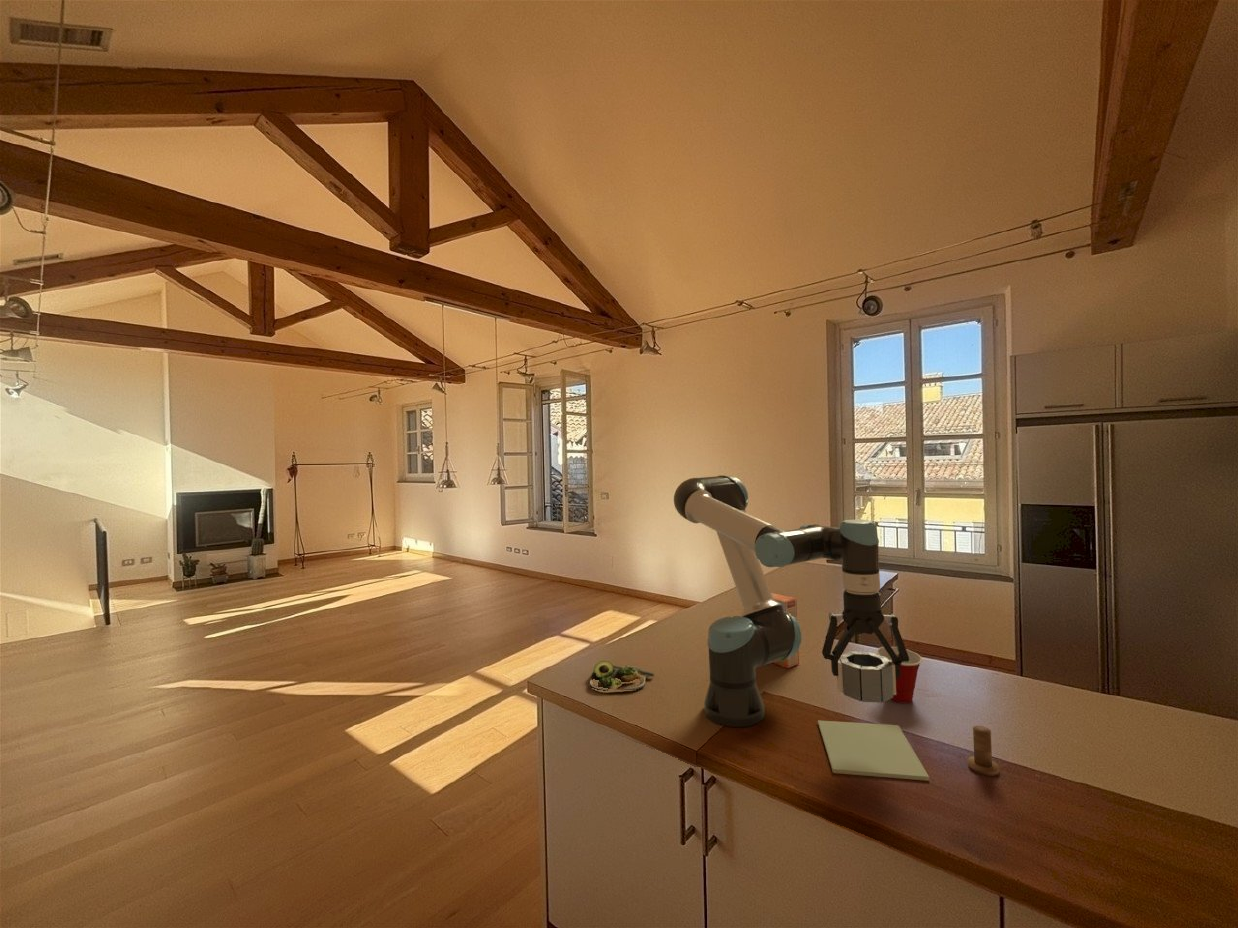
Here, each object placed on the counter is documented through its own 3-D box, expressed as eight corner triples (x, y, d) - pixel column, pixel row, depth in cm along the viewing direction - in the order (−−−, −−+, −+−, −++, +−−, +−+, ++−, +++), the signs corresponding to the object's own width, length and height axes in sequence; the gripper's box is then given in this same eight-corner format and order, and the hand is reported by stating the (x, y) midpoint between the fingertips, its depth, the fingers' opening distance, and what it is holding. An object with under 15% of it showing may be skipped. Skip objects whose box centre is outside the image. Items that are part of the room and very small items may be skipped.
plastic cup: (911, 712, 130) (909, 665, 130) (869, 697, 139) (867, 652, 139) (932, 699, 136) (930, 654, 136) (890, 685, 145) (889, 643, 145)
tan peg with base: (974, 774, 105) (973, 734, 105) (963, 759, 110) (962, 721, 110) (1004, 776, 104) (1002, 736, 104) (991, 761, 109) (990, 723, 109)
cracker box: (800, 664, 162) (797, 597, 162) (787, 669, 159) (784, 601, 159) (765, 651, 174) (762, 589, 174) (752, 656, 171) (749, 592, 171)
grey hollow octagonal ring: (846, 700, 111) (845, 668, 111) (837, 680, 121) (836, 650, 121) (897, 703, 109) (896, 670, 109) (884, 682, 119) (882, 652, 119)
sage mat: (833, 772, 107) (832, 768, 107) (818, 723, 127) (817, 720, 127) (929, 780, 104) (929, 776, 103) (898, 728, 123) (898, 725, 123)
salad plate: (654, 668, 165) (654, 654, 165) (654, 694, 147) (654, 678, 147) (594, 670, 166) (593, 655, 166) (587, 695, 149) (586, 679, 148)
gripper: (809, 594, 114) (814, 695, 114) (923, 595, 109) (928, 701, 109) (805, 586, 121) (809, 681, 121) (912, 586, 116) (916, 685, 116)
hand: (866, 690), depth 115 cm, fingers closed on grey hollow octagonal ring, 10 cm apart
